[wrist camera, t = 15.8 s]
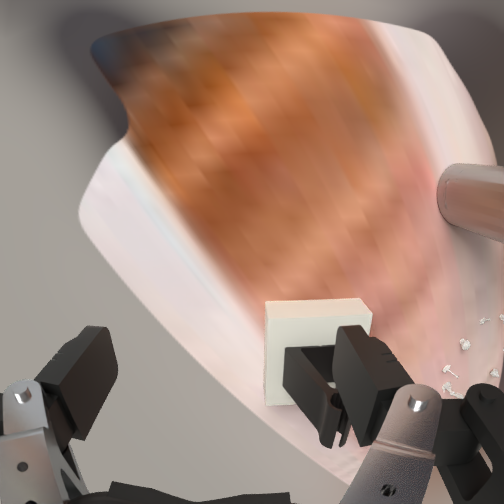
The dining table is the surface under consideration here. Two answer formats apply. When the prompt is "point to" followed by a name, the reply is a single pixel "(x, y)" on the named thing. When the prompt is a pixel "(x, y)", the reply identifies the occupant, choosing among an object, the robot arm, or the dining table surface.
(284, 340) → the cream block
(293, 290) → the dining table surface
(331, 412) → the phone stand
